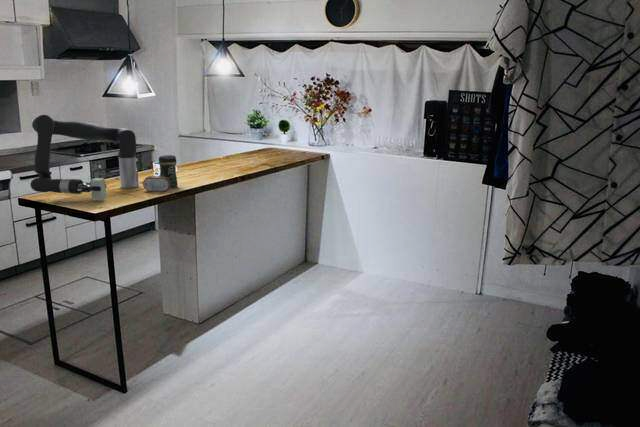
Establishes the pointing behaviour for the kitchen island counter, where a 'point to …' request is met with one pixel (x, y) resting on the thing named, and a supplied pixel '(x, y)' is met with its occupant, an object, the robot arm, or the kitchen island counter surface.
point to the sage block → (98, 194)
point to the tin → (157, 184)
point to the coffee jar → (168, 168)
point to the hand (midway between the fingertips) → (103, 187)
